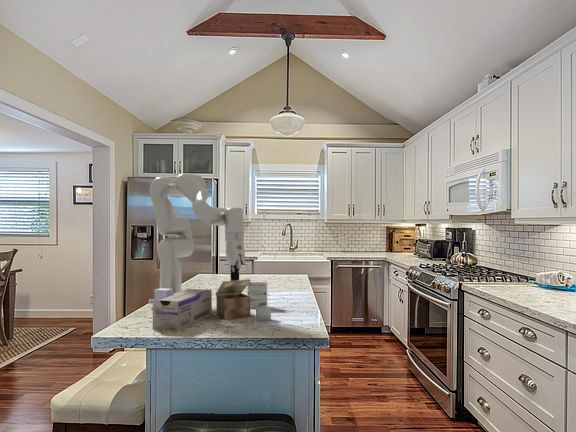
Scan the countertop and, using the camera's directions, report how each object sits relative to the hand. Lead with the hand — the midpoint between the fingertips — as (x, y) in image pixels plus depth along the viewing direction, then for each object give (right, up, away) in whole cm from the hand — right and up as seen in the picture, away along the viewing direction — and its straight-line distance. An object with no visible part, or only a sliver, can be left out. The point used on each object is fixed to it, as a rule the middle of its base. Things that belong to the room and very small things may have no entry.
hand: (234, 281), depth 158 cm
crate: (-1, -14, +1) cm, 14 cm away
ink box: (+8, -15, +17) cm, 24 cm away
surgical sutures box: (-19, -14, -9) cm, 25 cm away
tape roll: (+12, -14, -6) cm, 20 cm away
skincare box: (-28, -14, -5) cm, 32 cm away
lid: (-1, -4, +1) cm, 4 cm away
